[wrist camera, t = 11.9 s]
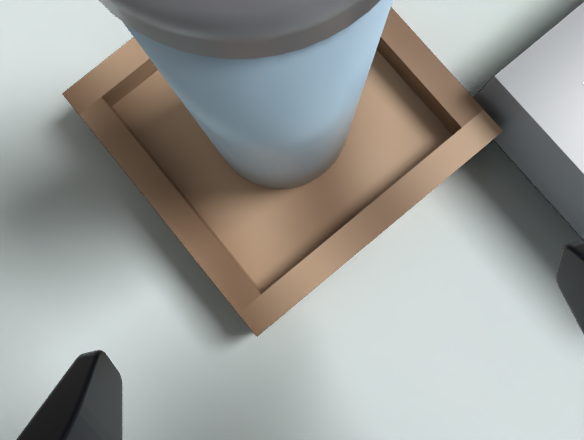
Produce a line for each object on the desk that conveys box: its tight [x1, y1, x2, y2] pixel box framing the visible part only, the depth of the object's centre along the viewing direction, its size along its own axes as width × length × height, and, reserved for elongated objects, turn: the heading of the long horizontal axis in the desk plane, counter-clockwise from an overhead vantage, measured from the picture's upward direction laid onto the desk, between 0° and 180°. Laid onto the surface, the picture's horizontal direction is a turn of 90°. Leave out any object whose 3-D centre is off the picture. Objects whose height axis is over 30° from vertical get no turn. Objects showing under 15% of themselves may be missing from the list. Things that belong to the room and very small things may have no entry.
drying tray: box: [62, 7, 503, 336], centre depth 18 cm, size 11×11×2 cm
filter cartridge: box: [99, 0, 393, 189], centre depth 12 cm, size 5×5×12 cm
